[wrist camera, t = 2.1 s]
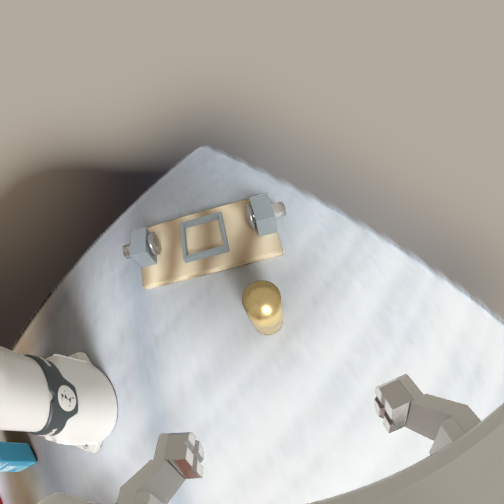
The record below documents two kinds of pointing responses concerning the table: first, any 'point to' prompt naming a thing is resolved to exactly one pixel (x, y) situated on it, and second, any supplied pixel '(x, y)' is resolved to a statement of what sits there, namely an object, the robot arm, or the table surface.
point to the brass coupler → (263, 306)
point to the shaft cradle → (207, 241)
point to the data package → (15, 456)
